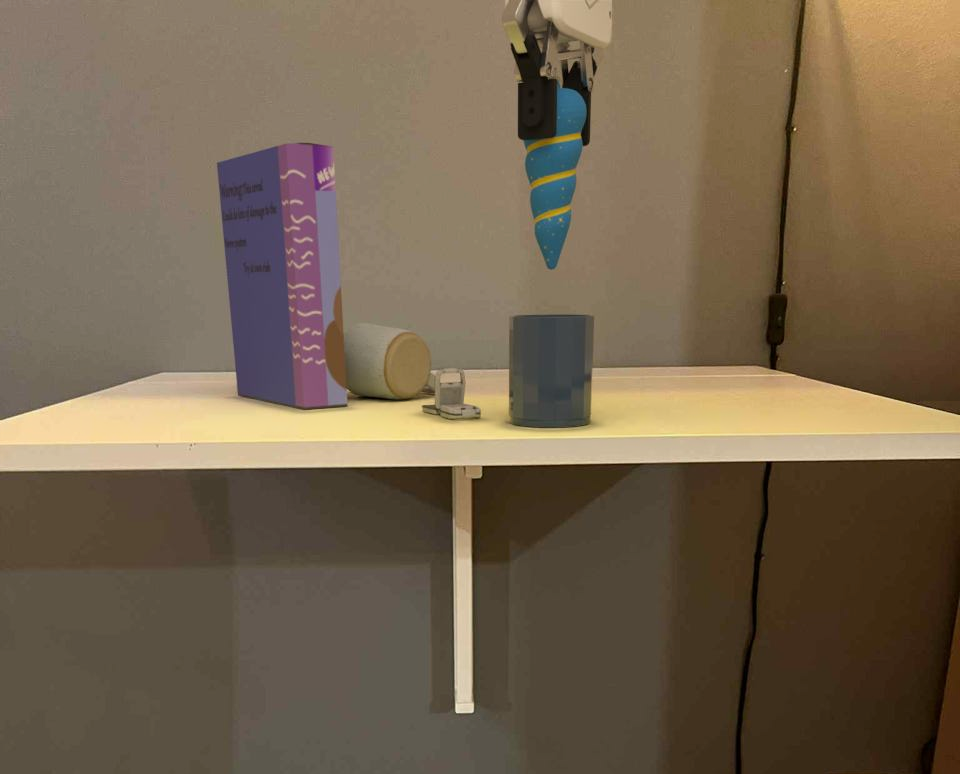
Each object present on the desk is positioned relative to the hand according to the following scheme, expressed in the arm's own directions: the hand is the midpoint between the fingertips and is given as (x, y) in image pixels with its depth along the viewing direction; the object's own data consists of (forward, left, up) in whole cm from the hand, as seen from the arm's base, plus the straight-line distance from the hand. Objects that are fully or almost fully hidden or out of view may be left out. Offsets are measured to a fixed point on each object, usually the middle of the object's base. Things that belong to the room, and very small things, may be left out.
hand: (554, 140), depth 80 cm
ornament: (0, 0, -10) cm, 10 cm away
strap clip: (+11, 0, -23) cm, 25 cm away
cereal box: (+33, -2, -23) cm, 40 cm away
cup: (0, 0, -23) cm, 23 cm away
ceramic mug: (+25, -10, -23) cm, 35 cm away
